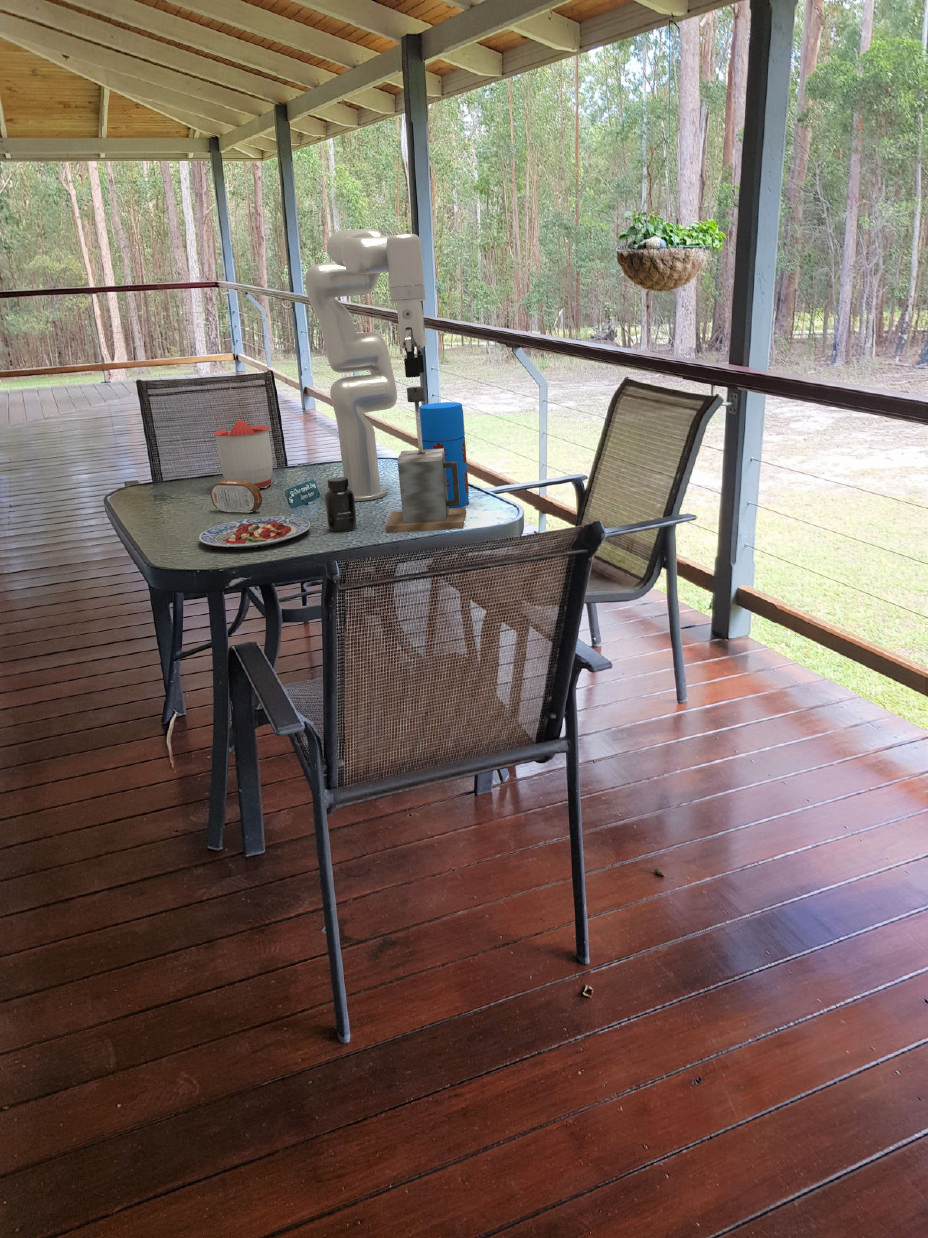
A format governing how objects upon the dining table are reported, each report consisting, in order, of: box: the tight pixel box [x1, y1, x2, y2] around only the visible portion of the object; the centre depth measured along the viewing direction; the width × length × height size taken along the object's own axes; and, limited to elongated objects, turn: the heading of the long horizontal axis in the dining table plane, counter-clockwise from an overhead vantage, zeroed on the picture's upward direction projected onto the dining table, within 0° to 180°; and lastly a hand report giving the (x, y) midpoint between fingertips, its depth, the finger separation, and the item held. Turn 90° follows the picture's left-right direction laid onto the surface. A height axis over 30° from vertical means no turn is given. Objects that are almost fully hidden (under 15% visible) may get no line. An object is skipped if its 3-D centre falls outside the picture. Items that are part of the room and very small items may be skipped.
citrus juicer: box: [213, 419, 274, 488], centre depth 280 cm, size 16×17×20 cm
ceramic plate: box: [198, 515, 311, 548], centre depth 226 cm, size 26×26×3 cm
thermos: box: [419, 401, 470, 509], centre depth 240 cm, size 11×11×25 cm
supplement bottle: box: [324, 476, 358, 533], centre depth 227 cm, size 7×7×12 cm
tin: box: [209, 479, 263, 512], centre depth 252 cm, size 15×3×8 cm, turn 65°
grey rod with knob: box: [406, 386, 426, 455], centre depth 221 cm, size 4×4×20 cm
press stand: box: [384, 448, 467, 534], centre depth 226 cm, size 18×14×16 cm
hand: (415, 374), depth 216 cm, fingers open, 9 cm apart
